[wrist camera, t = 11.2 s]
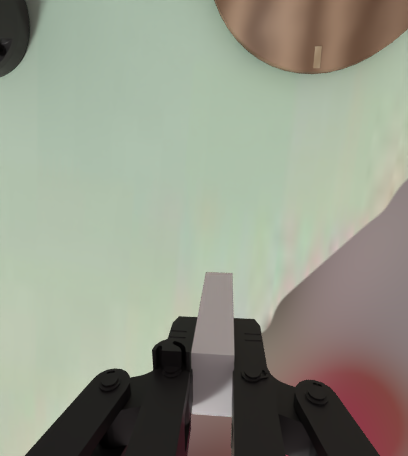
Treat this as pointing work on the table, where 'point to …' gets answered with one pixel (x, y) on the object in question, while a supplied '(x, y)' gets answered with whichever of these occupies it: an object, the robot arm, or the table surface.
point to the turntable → (314, 30)
